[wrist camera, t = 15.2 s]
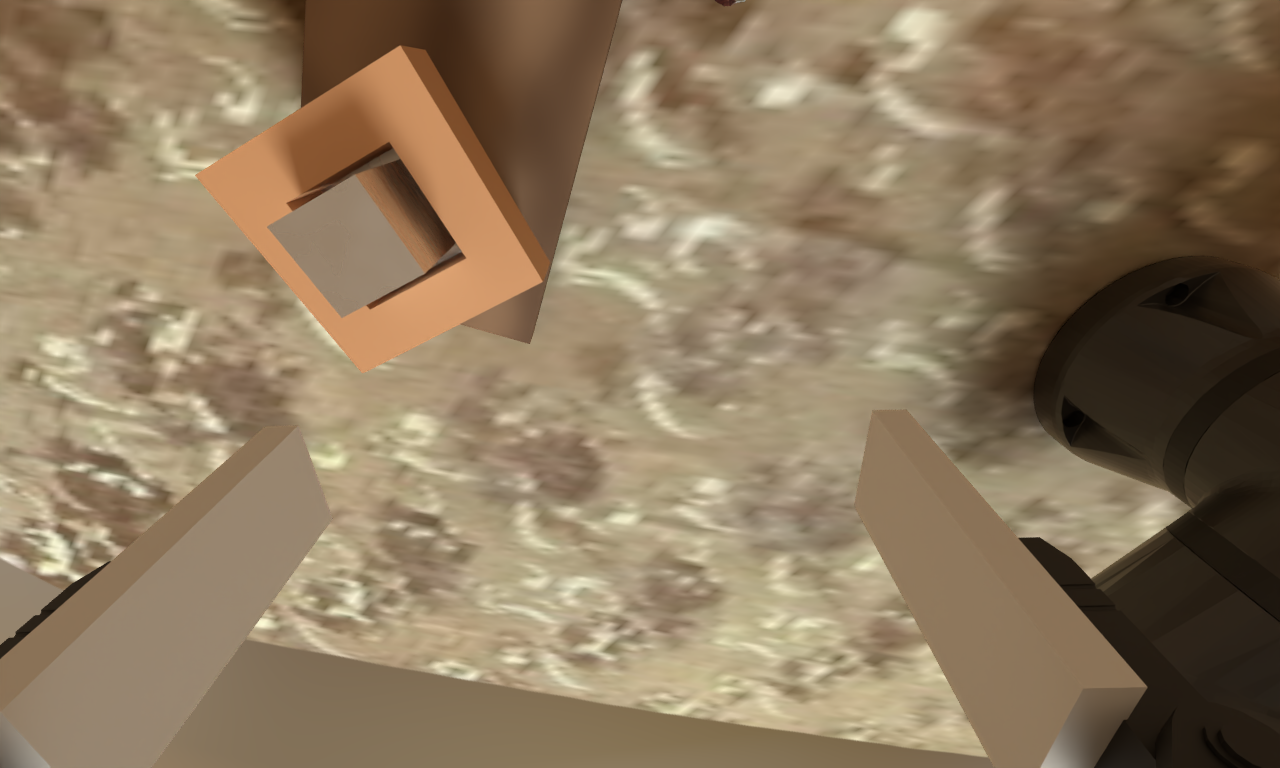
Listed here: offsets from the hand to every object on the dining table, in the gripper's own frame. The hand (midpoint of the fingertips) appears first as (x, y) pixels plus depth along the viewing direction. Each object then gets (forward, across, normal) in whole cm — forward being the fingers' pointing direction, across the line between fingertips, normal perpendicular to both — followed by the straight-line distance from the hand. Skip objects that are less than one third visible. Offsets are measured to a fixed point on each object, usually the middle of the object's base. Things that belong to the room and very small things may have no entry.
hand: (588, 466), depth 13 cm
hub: (+21, +10, -3) cm, 23 cm away
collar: (+16, +10, -3) cm, 19 cm away
